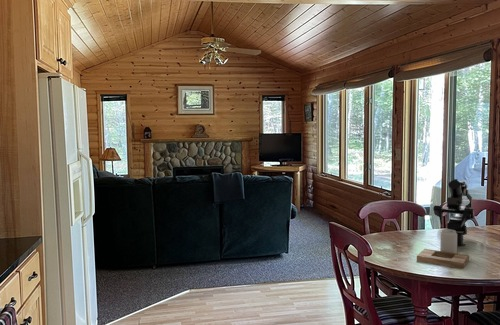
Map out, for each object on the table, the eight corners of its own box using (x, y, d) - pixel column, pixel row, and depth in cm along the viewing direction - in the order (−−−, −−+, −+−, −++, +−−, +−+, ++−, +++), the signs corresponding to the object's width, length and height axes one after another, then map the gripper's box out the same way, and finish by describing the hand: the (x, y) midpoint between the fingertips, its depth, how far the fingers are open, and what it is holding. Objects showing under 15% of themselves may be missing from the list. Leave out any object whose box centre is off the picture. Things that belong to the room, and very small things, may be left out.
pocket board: (424, 253, 211) (424, 248, 211) (468, 260, 199) (468, 255, 199) (416, 260, 199) (416, 255, 199) (463, 268, 187) (463, 262, 187)
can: (458, 256, 206) (459, 232, 205) (442, 255, 207) (442, 231, 206) (454, 251, 213) (454, 228, 212) (438, 251, 215) (439, 228, 214)
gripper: (434, 190, 221) (428, 214, 213) (473, 192, 210) (469, 218, 202) (437, 202, 228) (432, 226, 220) (476, 205, 217) (472, 231, 209)
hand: (450, 225), depth 213 cm, fingers open, 9 cm apart
